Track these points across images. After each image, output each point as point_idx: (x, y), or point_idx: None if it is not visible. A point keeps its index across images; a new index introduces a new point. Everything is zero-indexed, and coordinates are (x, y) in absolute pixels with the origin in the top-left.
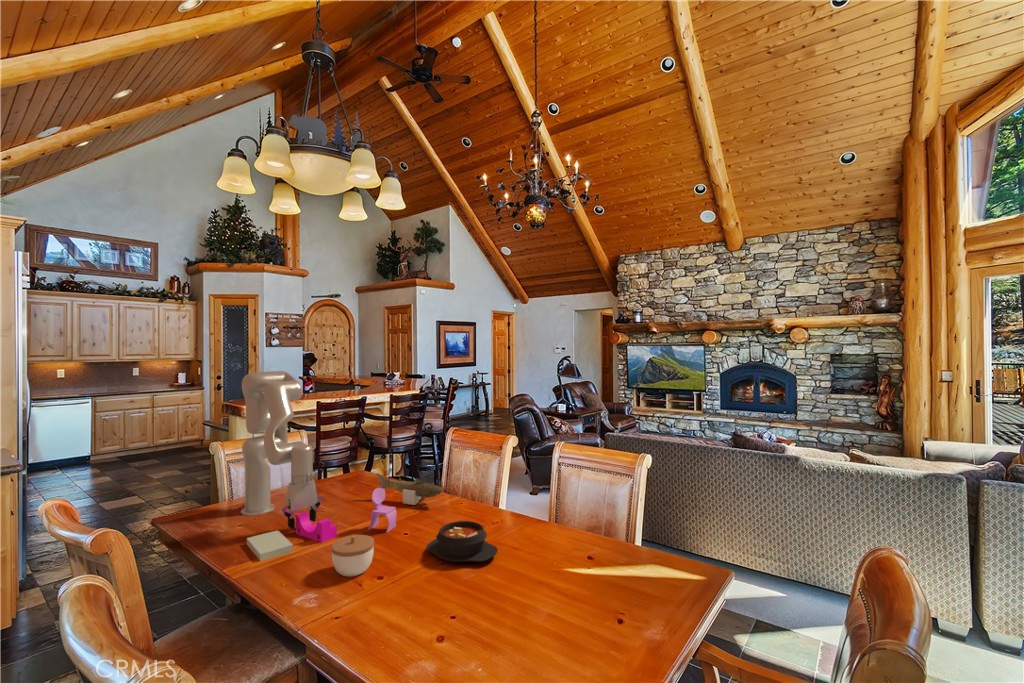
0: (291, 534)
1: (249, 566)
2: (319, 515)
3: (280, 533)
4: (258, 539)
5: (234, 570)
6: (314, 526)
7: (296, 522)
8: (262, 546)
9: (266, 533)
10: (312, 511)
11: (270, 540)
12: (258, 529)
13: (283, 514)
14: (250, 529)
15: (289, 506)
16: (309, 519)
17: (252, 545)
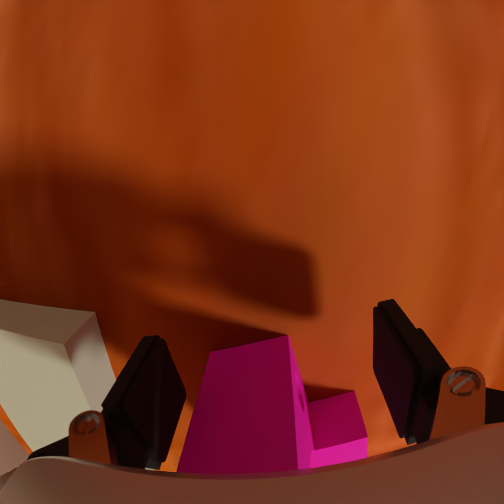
0: (184, 320)
1: None
2: (491, 78)
3: (89, 409)
4: (3, 380)
5: (14, 429)
6: (318, 452)
7: (192, 433)
8: (41, 447)
9: (14, 341)
10: (409, 422)
11: (56, 434)
12: (35, 52)
13: (38, 455)
14: (14, 34)
15: (48, 475)
16: (309, 460)
17: (3, 405)
